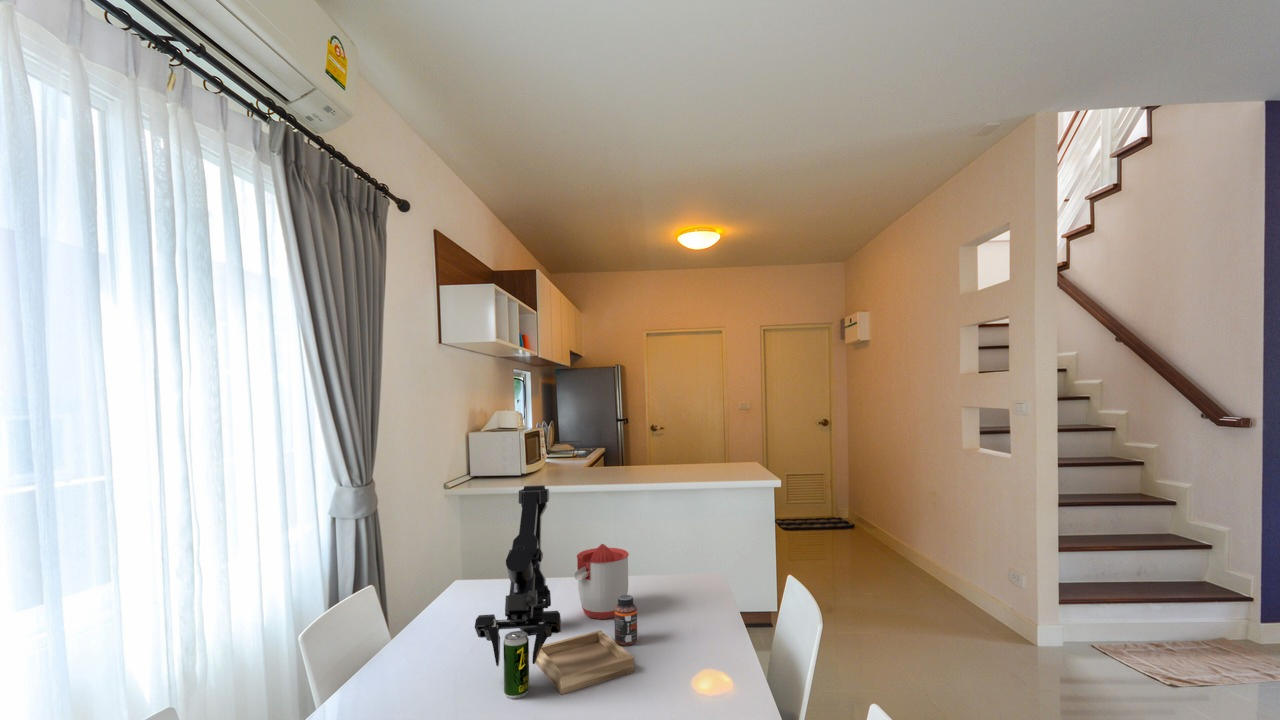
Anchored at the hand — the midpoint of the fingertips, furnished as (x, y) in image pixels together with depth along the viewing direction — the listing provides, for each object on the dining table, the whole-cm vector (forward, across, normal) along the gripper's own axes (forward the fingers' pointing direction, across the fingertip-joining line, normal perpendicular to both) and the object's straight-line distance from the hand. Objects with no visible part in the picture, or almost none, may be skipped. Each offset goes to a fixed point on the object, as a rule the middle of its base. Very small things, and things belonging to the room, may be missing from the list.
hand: (515, 664), depth 116 cm
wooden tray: (-3, +14, +13) cm, 19 cm away
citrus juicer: (-26, +19, +36) cm, 48 cm away
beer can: (+4, 0, +6) cm, 7 cm away
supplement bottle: (-12, +25, +21) cm, 35 cm away
